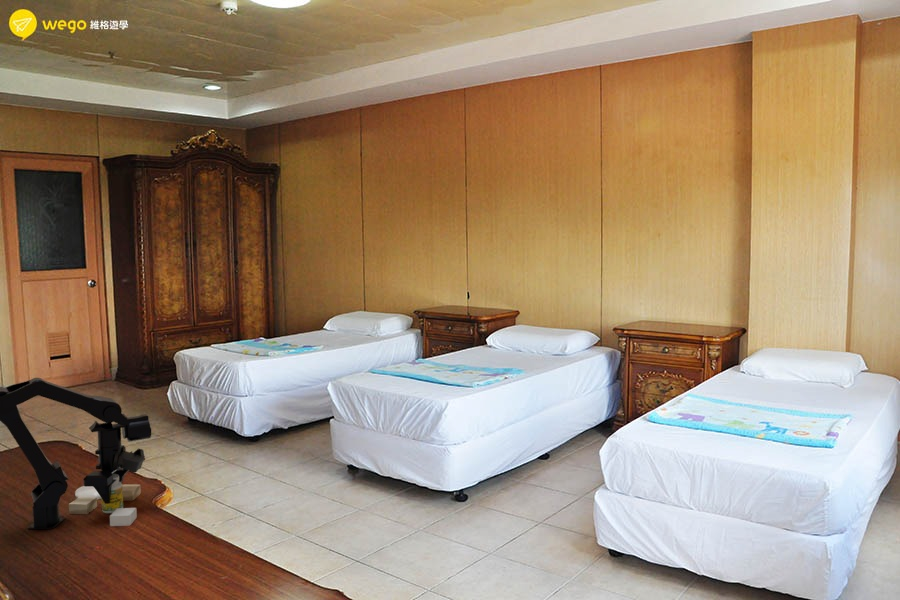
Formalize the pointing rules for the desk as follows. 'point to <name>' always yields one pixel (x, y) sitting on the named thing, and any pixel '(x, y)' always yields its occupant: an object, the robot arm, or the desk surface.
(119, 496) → the supplement bottle
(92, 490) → the cream saucer
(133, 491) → the oak block
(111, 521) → the grey plastic block
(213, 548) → the desk surface
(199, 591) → the desk surface
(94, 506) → the birch block
